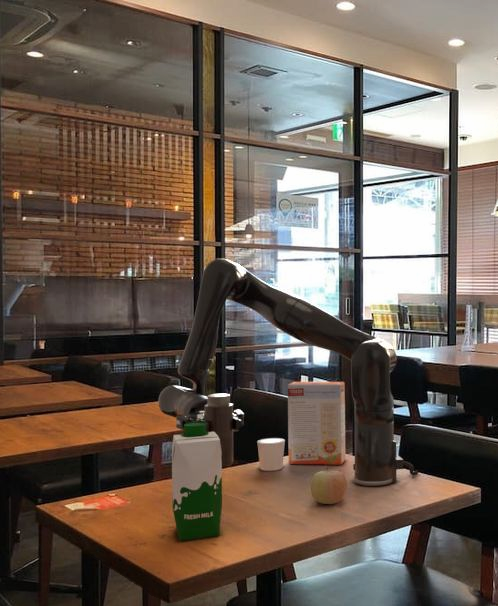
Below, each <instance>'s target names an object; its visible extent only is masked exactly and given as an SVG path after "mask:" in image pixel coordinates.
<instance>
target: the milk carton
mask: <svg viewBox="0 0 498 606" xmlns="http://www.w3.org/2000/svg"><path fill="white" fill-rule="evenodd" d="M221 455H222V452H221V445H220V439H219V437H218V435H217V434H216V433H215V432H206V423H203V422H192V423H186V424H184V430H183V433H180V434H173V437H172V445H171V460H172V461H171V497H172V498H171V499H172V500H171V501H172V512H173V517H174V518H173V519H174V522H175V527H176V528H175V529H176V532H177V536H178V539H179V542H182V541H190V540H191V541H192V540H197V539H204V538H211V537H218V536H220V531H221V520H222V508H223V472H222V471H223V470H222V468H223V466H222V462H221Z"/></svg>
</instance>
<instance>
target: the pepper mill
mask: <svg viewBox="0 0 498 606" xmlns="http://www.w3.org/2000/svg"><path fill="white" fill-rule="evenodd" d="M206 397H207V402H208V404H207V405H205V406H204V411H205V421H207V422H208V424H209V432H215V433H216V434H217V435H218V437H219V439H220V445H221V452H222V455H221V462H222V467H225V466H226V467H227V466H230V465H232V464H233V463H234V429H233V411H234V403H231V394H230V393H212V394H208V395H207V396H206Z"/></svg>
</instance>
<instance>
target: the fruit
mask: <svg viewBox="0 0 498 606" xmlns="http://www.w3.org/2000/svg"><path fill="white" fill-rule="evenodd" d="M324 467H325V469H326V470H321V471H317V472H316V473H315V474H314V475H313V477H312V478H311V481H310V492H311V496H312V497H313V499H314V501H316V502H317V503H320V504H323V505H333V504H338V503H339V502H341V500H342V499H343V497H344V496H345V495H346V492H347V489H348V488H347V487H348V481H347V477H346V475H345V474H344V473H343V472H341V471H340V470H329V469H328V466H327V465H325V466H324Z"/></svg>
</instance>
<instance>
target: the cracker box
mask: <svg viewBox="0 0 498 606" xmlns="http://www.w3.org/2000/svg"><path fill="white" fill-rule="evenodd" d="M345 390H346V389H345V382H344V381H293V382H290V383H288V384H287V433H288V434H287V437H288V439H287V440H288V441H287V443H288V445H287V446H288V464H289V465H331V466H333V465H336V466H337V465H338V466H340V465H342V464H343V463H344V462H345V461H346V398H345V397H346V394H345V392H346V391H345Z"/></svg>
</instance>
